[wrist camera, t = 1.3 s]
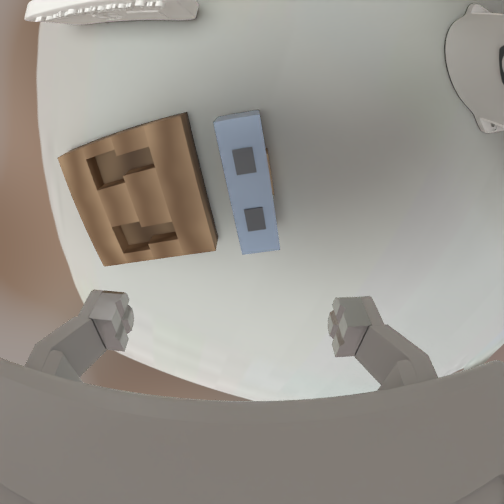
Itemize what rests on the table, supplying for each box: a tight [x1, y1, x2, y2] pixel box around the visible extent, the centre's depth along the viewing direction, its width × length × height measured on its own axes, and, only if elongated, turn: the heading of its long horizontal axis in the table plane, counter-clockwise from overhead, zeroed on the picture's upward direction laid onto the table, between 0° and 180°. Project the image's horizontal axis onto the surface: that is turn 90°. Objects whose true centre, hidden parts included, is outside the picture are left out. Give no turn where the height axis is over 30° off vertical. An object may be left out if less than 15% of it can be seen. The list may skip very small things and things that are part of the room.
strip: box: [213, 110, 280, 255], centre depth 29 cm, size 4×14×5 cm, turn 9°
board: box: [58, 112, 218, 266], centre depth 31 cm, size 16×16×3 cm
